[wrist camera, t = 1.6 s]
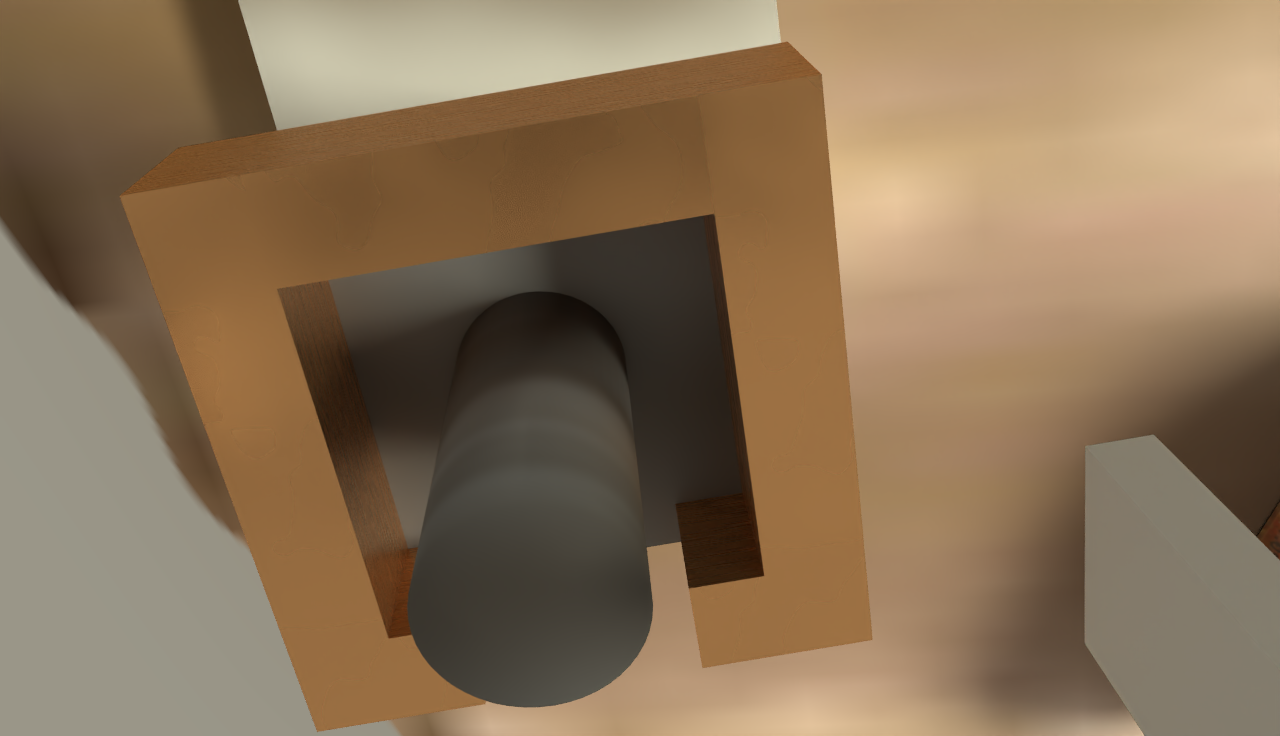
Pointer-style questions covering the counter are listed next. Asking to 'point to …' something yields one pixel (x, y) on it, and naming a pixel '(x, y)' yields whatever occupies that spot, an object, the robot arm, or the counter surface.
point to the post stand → (526, 345)
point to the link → (487, 222)
